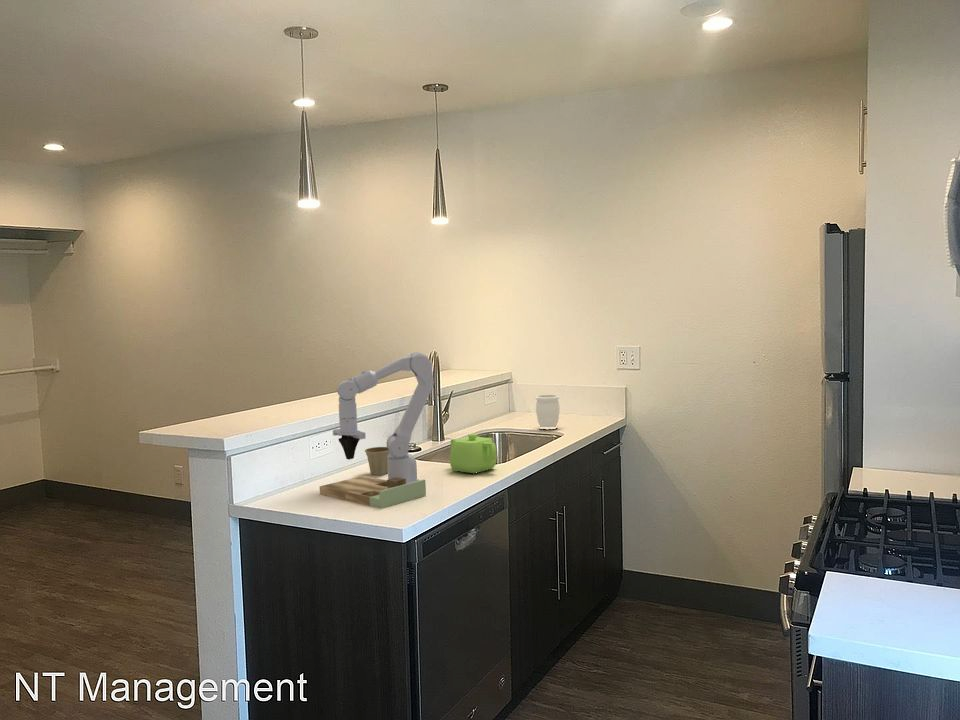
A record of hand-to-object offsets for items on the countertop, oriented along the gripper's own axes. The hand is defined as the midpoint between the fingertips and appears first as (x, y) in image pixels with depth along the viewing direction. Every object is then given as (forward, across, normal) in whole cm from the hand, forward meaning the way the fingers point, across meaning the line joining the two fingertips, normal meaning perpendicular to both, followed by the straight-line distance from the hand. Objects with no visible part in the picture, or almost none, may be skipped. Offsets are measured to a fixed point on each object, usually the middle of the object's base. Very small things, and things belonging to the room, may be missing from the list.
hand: (350, 458), depth 266 cm
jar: (+10, -13, +124) cm, 125 cm away
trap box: (+9, +14, -3) cm, 17 cm away
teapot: (+10, +17, +43) cm, 47 cm away
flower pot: (+10, -8, +19) cm, 23 cm away
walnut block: (+7, +26, -3) cm, 27 cm away
